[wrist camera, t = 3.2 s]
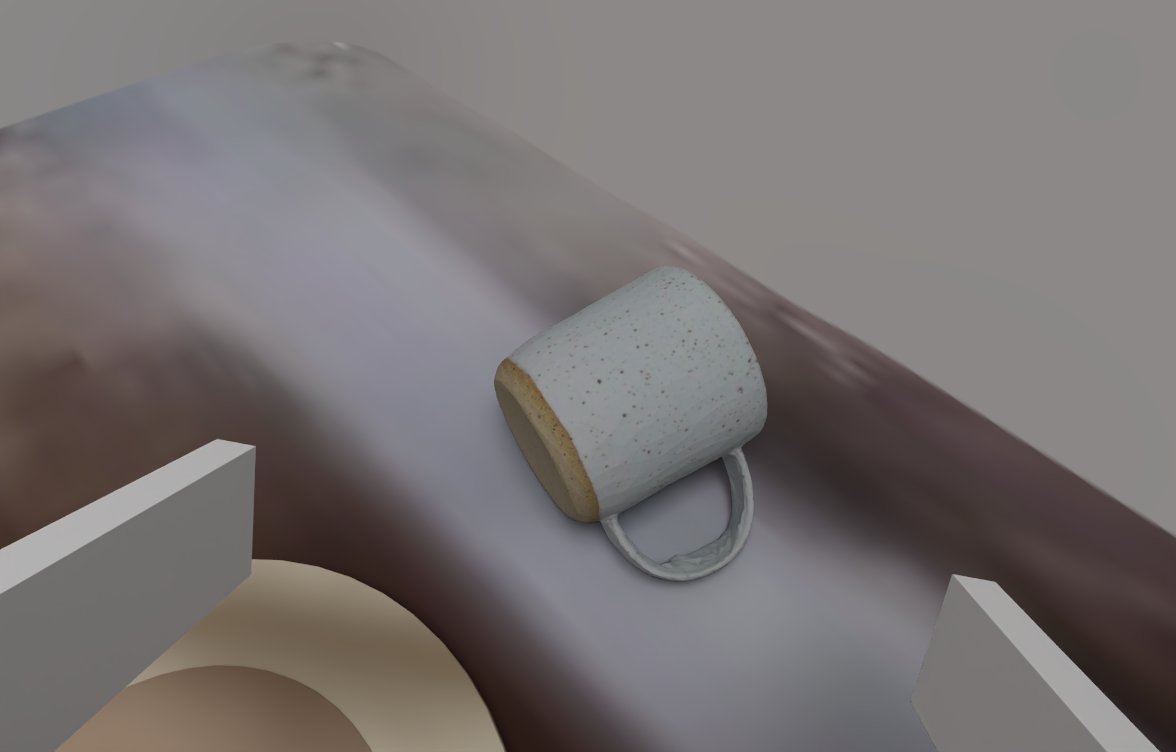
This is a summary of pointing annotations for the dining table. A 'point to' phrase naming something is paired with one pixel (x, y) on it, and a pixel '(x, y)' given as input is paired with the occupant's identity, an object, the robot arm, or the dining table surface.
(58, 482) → the dining table surface
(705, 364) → the ceramic mug
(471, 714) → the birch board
